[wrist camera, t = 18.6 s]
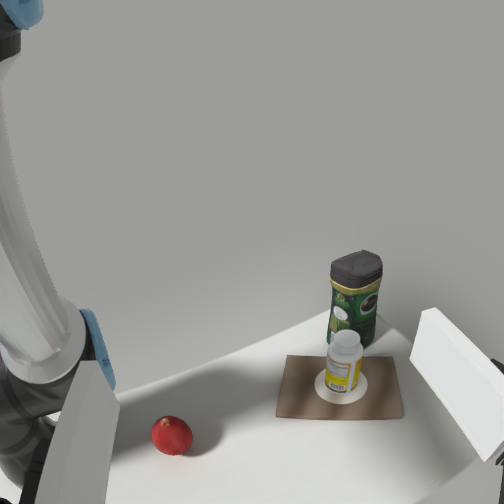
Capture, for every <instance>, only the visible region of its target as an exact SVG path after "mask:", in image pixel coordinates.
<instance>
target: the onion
mask: <svg viewBox="0 0 504 504" xmlns="http://www.w3.org/2000/svg"><path fill="white" fill-rule="evenodd" d="M151 437H152V441H153V443H154V445H155V446H156V448H157V449H158V450H159V451H161V452H163V453H164V454H168V455H173V456H174V455H180V454H182V453H184V452H185V451H186V450H187V449H188V448H189V447H190V446H191V443H192V440H193V436H192V432H191V429H190V428H189V426H188V425H187V424H186V423H185V422H184V421H183V420H181V419H179V418H177V417H173V416H165V417H162V418H160V419H158V420H157V421H156V423H155V424H154V426H153V428H152V431H151Z"/></svg>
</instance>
